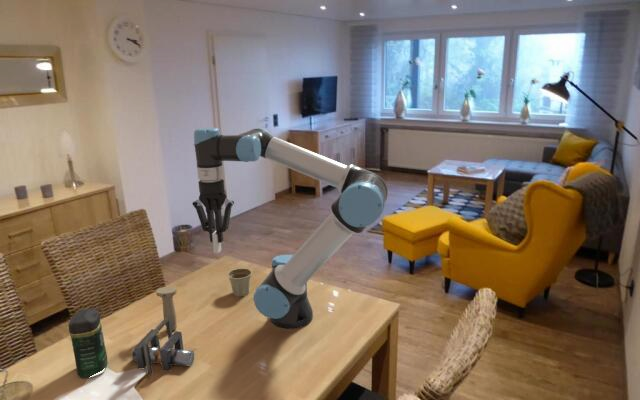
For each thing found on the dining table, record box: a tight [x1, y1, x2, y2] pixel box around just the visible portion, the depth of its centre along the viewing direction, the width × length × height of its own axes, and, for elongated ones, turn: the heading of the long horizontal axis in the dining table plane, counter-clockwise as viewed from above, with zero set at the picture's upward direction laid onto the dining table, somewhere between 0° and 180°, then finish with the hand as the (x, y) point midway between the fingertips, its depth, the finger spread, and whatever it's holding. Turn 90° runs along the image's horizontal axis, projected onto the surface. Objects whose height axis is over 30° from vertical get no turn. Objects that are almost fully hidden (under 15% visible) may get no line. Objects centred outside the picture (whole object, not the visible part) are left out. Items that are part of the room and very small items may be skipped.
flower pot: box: [226, 267, 253, 298], centre depth 175 cm, size 9×9×9 cm
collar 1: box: [133, 328, 161, 369], centre depth 137 cm, size 2×10×7 cm, turn 170°
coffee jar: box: [67, 307, 109, 379], centre depth 131 cm, size 10×8×19 cm
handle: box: [155, 286, 178, 332], centre depth 151 cm, size 5×6×15 cm
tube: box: [131, 346, 195, 367], centre depth 135 cm, size 18×4×4 cm, turn 80°
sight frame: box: [143, 316, 175, 376], centre depth 135 cm, size 1×14×11 cm, turn 170°
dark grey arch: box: [160, 330, 185, 372], centre depth 135 cm, size 2×10×7 cm, turn 170°
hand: (217, 251), depth 142 cm, fingers closed
